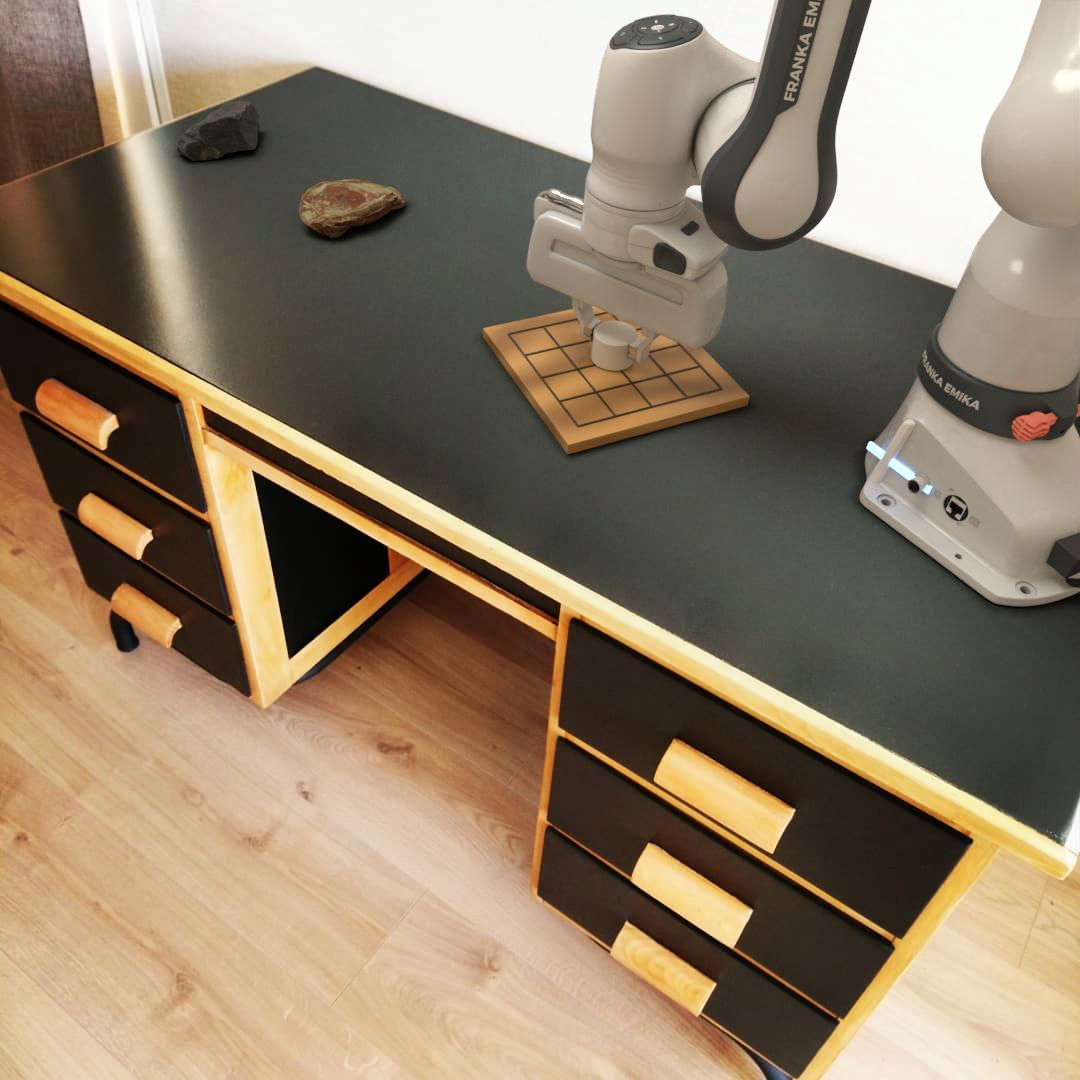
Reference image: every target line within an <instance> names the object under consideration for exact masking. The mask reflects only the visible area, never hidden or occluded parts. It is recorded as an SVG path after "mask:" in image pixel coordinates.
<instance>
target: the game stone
mask: <svg viewBox="0 0 1080 1080" xmlns="http://www.w3.org/2000/svg"><path fill="white" fill-rule="evenodd" d="M637 337H638V333H637V331H636V329H635V328H634V327H633V326H631V325H630V324H628V323H625V322H622V321H616V320H610V321H604V322H601V323H599V324H598V325H597V326H596V327H595V328H594V332H593V340H592V349H591V359H592V361H593V362H594V364H596V365H597V366H598V367H600V368H603V369H606V370H611V371H619V370H624V369H627V368H629V367H630V366H631V365H632V364H633V362H634V360H632V359H630V358H628V354H629V345H630V344H631V343H632V342H634V341H635V339H637Z"/></svg>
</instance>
